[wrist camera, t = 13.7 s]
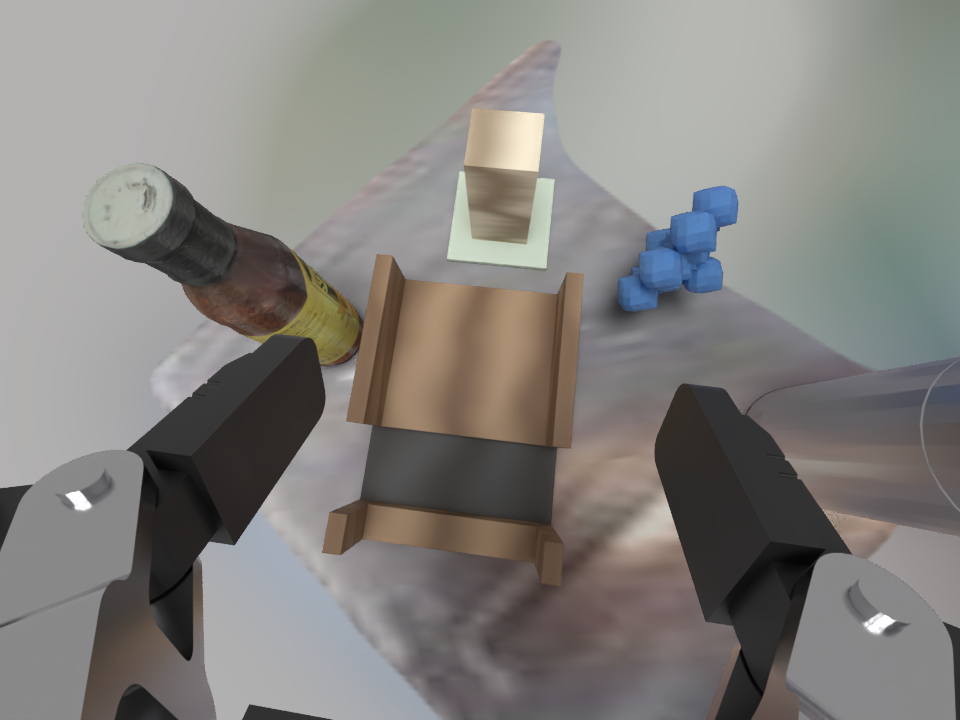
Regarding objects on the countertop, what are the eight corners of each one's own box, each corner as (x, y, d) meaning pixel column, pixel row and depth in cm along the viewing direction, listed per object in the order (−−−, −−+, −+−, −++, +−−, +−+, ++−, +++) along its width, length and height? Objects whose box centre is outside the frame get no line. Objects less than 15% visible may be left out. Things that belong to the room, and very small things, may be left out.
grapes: (641, 363, 34) (718, 322, 23) (580, 313, 35) (622, 249, 24) (723, 268, 36) (835, 183, 24) (661, 223, 37) (740, 120, 25)
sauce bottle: (377, 315, 36) (241, 165, 17) (348, 379, 35) (164, 299, 16) (313, 290, 37) (109, 119, 17) (282, 352, 36) (27, 244, 16)
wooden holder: (567, 304, 36) (583, 273, 29) (547, 557, 32) (560, 586, 25) (397, 286, 37) (376, 254, 30) (356, 531, 32) (322, 552, 26)
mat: (553, 182, 38) (554, 179, 38) (545, 270, 36) (546, 268, 36) (460, 174, 39) (459, 171, 38) (447, 260, 37) (446, 258, 36)
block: (531, 200, 37) (544, 113, 28) (526, 244, 36) (538, 171, 27) (478, 195, 38) (472, 108, 28) (472, 239, 37) (463, 165, 27)
